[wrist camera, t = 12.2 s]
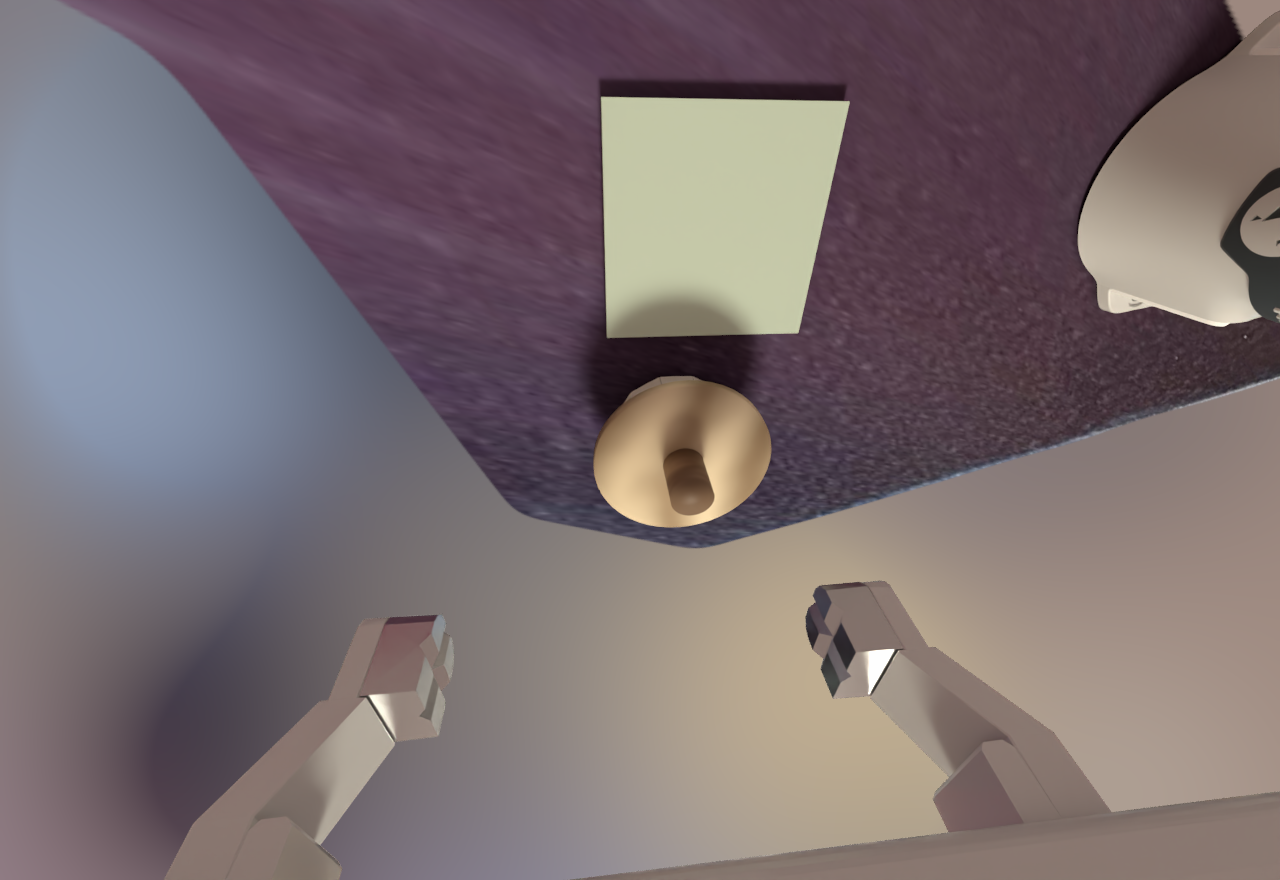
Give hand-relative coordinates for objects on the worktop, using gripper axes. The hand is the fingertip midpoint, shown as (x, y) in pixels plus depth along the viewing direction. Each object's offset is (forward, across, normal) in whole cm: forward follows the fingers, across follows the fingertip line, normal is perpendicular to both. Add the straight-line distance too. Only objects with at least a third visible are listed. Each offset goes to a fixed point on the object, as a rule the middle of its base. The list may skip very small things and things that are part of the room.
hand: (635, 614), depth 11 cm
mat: (+29, -8, -1) cm, 30 cm away
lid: (+24, -6, +15) cm, 29 cm away
